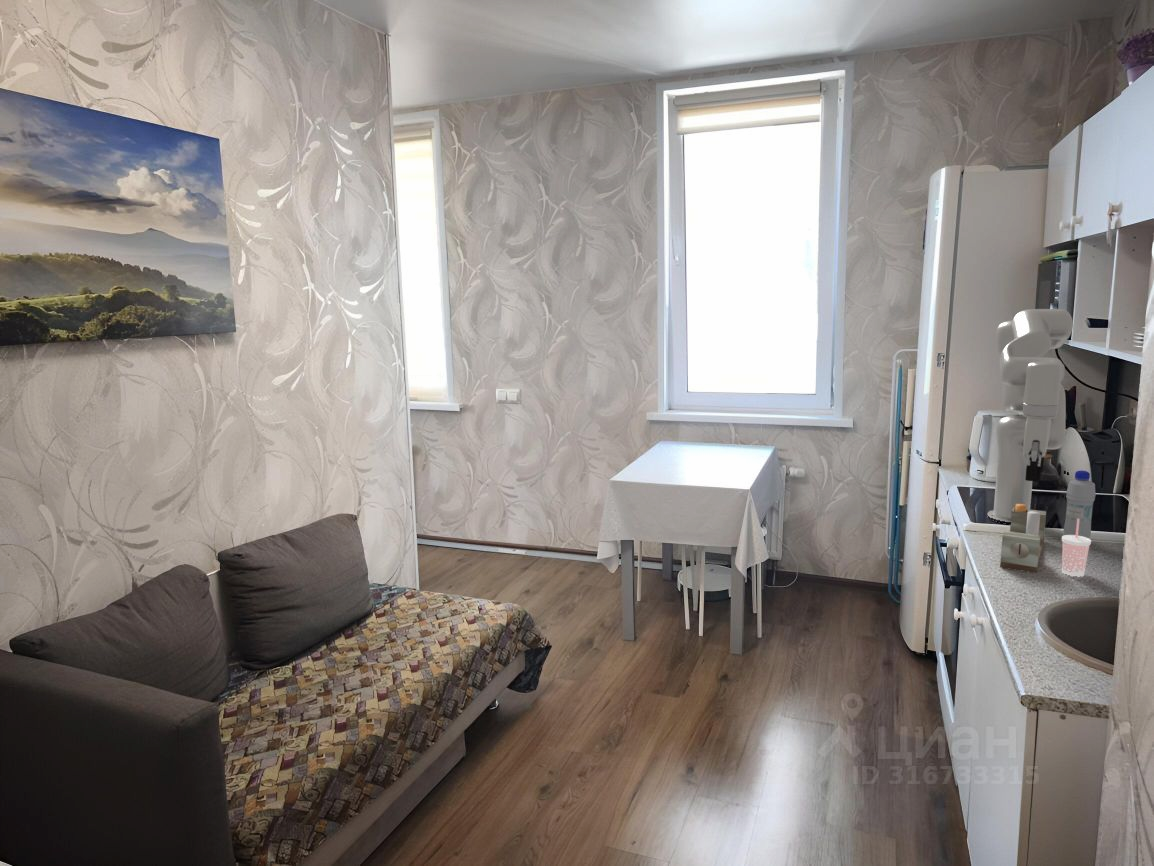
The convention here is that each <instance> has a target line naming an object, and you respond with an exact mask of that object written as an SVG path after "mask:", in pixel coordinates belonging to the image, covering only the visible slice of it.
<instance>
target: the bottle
mask: <svg viewBox="0 0 1154 866" xmlns="http://www.w3.org/2000/svg"><path fill="white" fill-rule="evenodd" d="M1090 477H1091V473H1090V472H1089V471H1086V470H1077V471H1075V473H1074V479H1072V480H1069V482H1068V485H1067V489H1066V496H1065V497H1066V500H1067V501H1066V509H1065V510H1066V512H1065V519H1064V520H1065V521H1064V526H1063V536H1064V535H1076V527H1077V519H1080V520H1079V530H1078V536H1083V537H1087V538H1089V539H1091V536H1092V533H1091V532H1092V516H1093V507H1094V501H1095V500H1096V496H1097V495H1096V484H1095V482H1093V481H1091V480H1090Z"/></svg>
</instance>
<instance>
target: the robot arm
mask: <svg viewBox="0 0 1154 866" xmlns="http://www.w3.org/2000/svg"><path fill="white" fill-rule="evenodd" d="M1073 323H1074V321H1073V317H1072V316H1071V314H1070V312H1069V311H1068V310H1066V309H1063V308H1032V309H1031V308H1030V309H1024V310H1021V311H1019V312H1018V313H1017V314H1015V316H1014V317H1013V319H1012V320H1007V321H1003V322H1002V323H999V325H998V326H997V329H996V331H995V332H996V334H995V335H996V336H995V341H996V348H997V353H998V355H999V370H1000V371H999V372H1000V378H1001V380H1002V404H1003V407H1004V409H1006V410H1007V411H1009V412H1014V413H1022V415H1008V416H1007V415H1006V416H1004V417H1002V418H1001V419H999V421H998V422H997V424H996V440H997V463H996V476H995V478H996V479H995V486H994V487H995V490H994V502H993V509H992V510H989V511H988V512H987V515H988V516H989V517H990V518H993V519H996V520H1000V521H1005V522H1011V514H1012V509H1013V508H1015V507H1016V504H1025V505H1027V506H1026V509H1030V510H1031V502H1032V501H1031V499H1032V490H1033V482H1036V483H1039V482H1040V481H1041V477H1042V476H1041V474H1042V473H1043V471H1044V462H1045V456H1046V453H1047V451H1048V450H1059V449H1061V448H1062V446H1063V445H1064V444H1065V439H1066V407H1067V406H1066V405H1067V403H1066V399H1067V398H1066V391H1065V389H1064V388H1065V387H1064V386H1063V385H1062V383H1061V382H1062V381H1063V380H1064V377H1065V370H1066V368H1065V364H1064V363H1063V362H1062V361H1061V360H1060V359H1059V358H1057V357H1047V356H1046V357H1043V356H1044V355H1045V354H1047V353H1048V352H1049V351H1050V350H1055V349H1059V348H1061V347H1062V346H1063V345H1064V344H1065V343H1066V342H1067V341H1068V340H1069V338H1070V336H1071V334H1072V331H1073V326H1074V324H1073ZM988 516H987V517H988Z"/></svg>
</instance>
